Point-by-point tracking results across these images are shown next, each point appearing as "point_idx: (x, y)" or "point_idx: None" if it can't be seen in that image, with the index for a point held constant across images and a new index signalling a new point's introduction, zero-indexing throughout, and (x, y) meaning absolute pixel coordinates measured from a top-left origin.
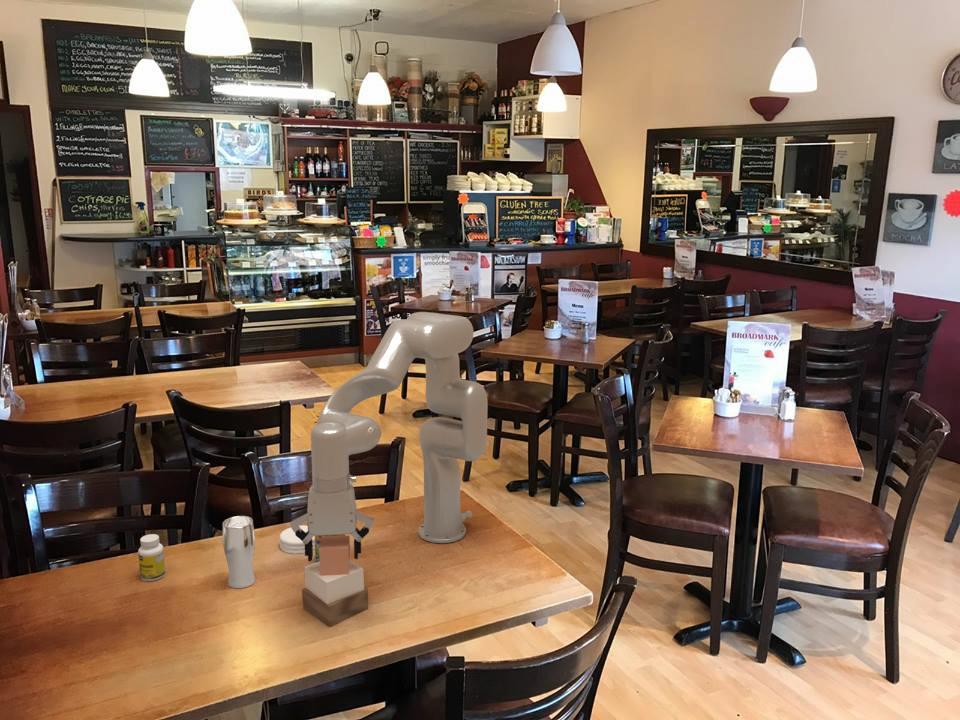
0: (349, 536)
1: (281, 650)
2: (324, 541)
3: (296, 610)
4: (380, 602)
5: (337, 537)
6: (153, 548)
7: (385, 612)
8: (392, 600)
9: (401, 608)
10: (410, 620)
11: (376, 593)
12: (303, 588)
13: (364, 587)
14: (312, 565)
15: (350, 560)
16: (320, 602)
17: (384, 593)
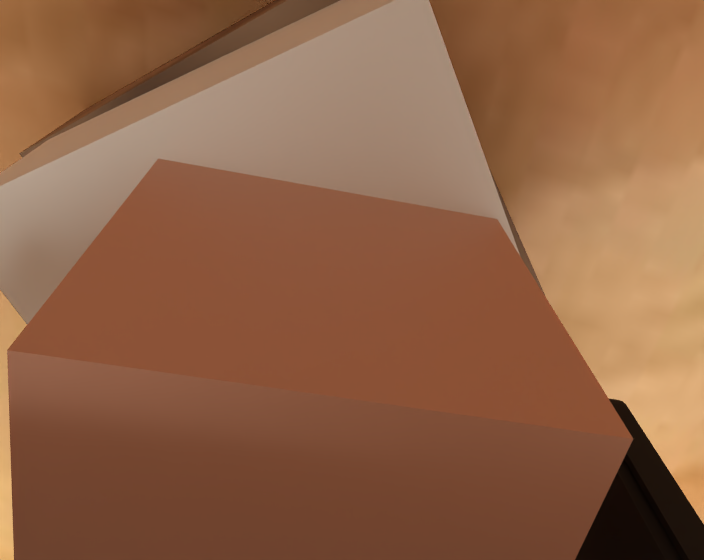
0: (619, 443)
1: (4, 470)
2: (94, 548)
3: (38, 119)
4: (605, 182)
5: (369, 464)
6: None
7: (591, 298)
8: (686, 180)
9: (695, 283)
10: (684, 401)
11: (623, 54)
12: (31, 147)
13: (532, 270)
14: (38, 212)
15: (501, 215)
16: None
17: (676, 72)
